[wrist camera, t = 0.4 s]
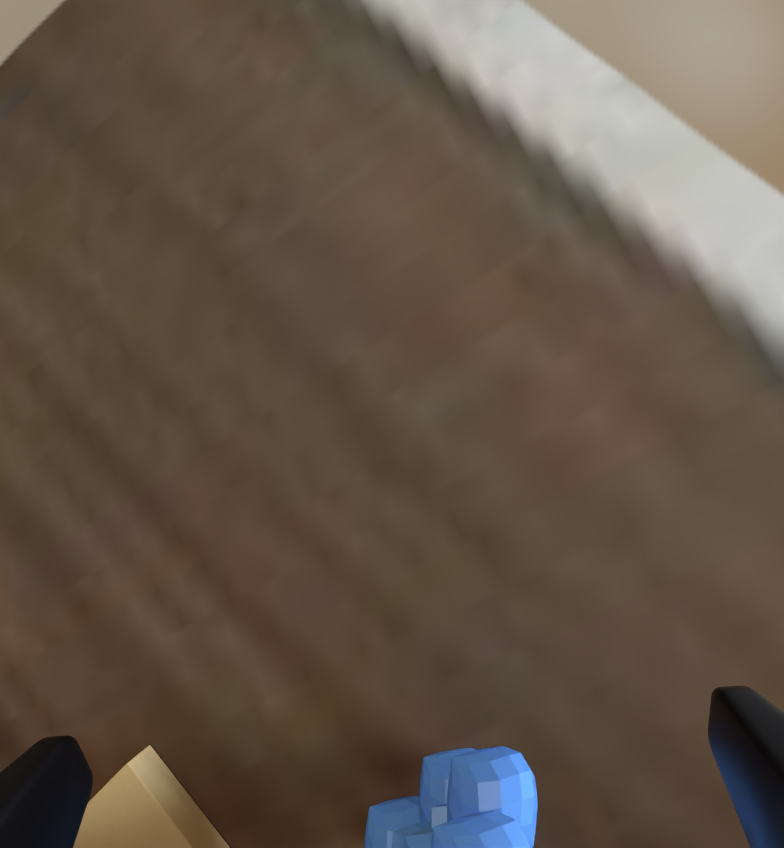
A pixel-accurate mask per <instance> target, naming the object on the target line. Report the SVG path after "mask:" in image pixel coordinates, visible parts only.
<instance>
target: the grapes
mask: <svg viewBox="0 0 784 848" xmlns="http://www.w3.org/2000/svg"><path fill="white" fill-rule="evenodd" d="M537 806H538V800H537V792H536V784H535V777H534V775H533V773H532V771H531V769H530V767H529V766H528V764H527V762H526V761H525V759H524V757H523V756H522V754H521V753H520V752H517V751H515V750H512V749H510V748H507V747H504V746H501V747H493V748H485V749H479V750H475V749H473V748H462V749H454V750H448V751H442V752H439V753H435V754H432V755H429V756H426V757H424V758H423V765H422V771H421V778H420V790H419V797H418V796H411V797H403V798H397V799H393V800H389V801H385V802H382V803H379V804H377V805H374V806H371V807H370V808H369V813H368V819H367V825H366V832H365V845H364V848H532V847H533V846H534V838H535V829H536V818H537Z"/></svg>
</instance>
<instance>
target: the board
mask: <svg viewBox="0 0 784 848" xmlns="http://www.w3.org/2000/svg"><path fill="white" fill-rule="evenodd" d="M73 848H230V847H229V846H228V845H227V843H226V842H225V841H224V839H223V838H222V837H221V836H220V834H219V833H218V832H217V830H216V829H215V828H214V827H213V825H212V824H211V823H210V821H209V820H208V819H207V818H206V816H205V815H204V814H203V812H202V811H201V810H200V808H199V807H198V806H197V805H196V803H195V802H194V801H193V799H192V798H191V797H190V796H189V794H188V793H187V792H186V790H185V789H184V788H183V787H182V785H181V784H180V783H179V781H178V780H177V779H176V778H175V776H174V775H173V774H172V772H171V771H170V770H169V769H168V767H167V766H166V765H165V763H164V762H163V761H162V760H161V758H160V757H159V756H158V754H157V753H156V752H155V751H154V749H153V748H152V747H151V745H149V746H147V747H146V748H145V749H144V750H142V751H141V752H140V753H139V754H138V755H136V756H135V757H134V758H133V759H131V760H130V761H129V762H128V763H127V764H126V765H125V766H124V767H123V768H122V769H121V770H120V771H119V772H118V773H117V774H116V775H115V776H114V777H113V778H112V779H111V780H110V781H109V782H108V783H107V784H106V785H105V786H104V787H103V788H102V789H101V790H100V791H99V792H98V793H97V794H96V795H95V796H94V797H93V798H92V799H91V800H90V801H89V802H88V803H87V806H86V809H85V813H84V816H83V819H82V822H81V825H80V828H79V831H78V834H77V837H76V840H75V843H74V846H73Z"/></svg>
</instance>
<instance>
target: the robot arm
mask: <svg viewBox="0 0 784 848" xmlns="http://www.w3.org/2000/svg"><path fill="white" fill-rule="evenodd" d="M708 738H709V743H710V746H711V749H712V752H713V755H714V757H715V760H716V762H717V765H718V767H719V770H720V772H721V775H722V777H723V780H724V782H725V784H726V787H727V789H728V792H729V794H730V797H731V799H732V802H733V804H734V807H735V809H736V812H737V814H738V817H739V819H740V822H741V824H742V827H743V829H744V832H745V834H746V837H747V839H748V842H749V844H750V847H751V848H784V712H782V711H781V710H780V709H778V708H777V707H776V706H774V705H773V704H772V703H770V702H769V701H767V700H766V699H765V698H763V697H762V696H761V695H759V694H758V693H757V692H755V691H754V690H752V689H750V688H748V687H746V686H730V687H718V688H716V689H715V690H714V691H713V692H712V696H711V706H710V715H709V724H708ZM92 785H93V776H92V771H91V769H90V767H89V765H88V763H87V761H86V759H85V757H84V754H83V752H82V750H81V748H80V746H79V744H78V742H77V741H76V739H75V738H73V737H72V736H55V737H47V738H44V739H41V740H40V741H38V742H37V743H36V744H34V745H33V746H32V747H31V748H29V749H28V750H27V751H26V752H25V753H23V754H22V755H21V756H20V757H19V758H17V759H16V760H15V761H14V762H13V763H11V764H10V765H9V766H8V767H6V768H5V769H4V770H3V771H2V772H0V848H73V846H74V843H75V840H76V837H77V834H78V831H79V828H80V825H81V822H82V819H83V816H84V813H85V809H86V806H87V803H88V800H89V797H90V794H91V790H92Z"/></svg>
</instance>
